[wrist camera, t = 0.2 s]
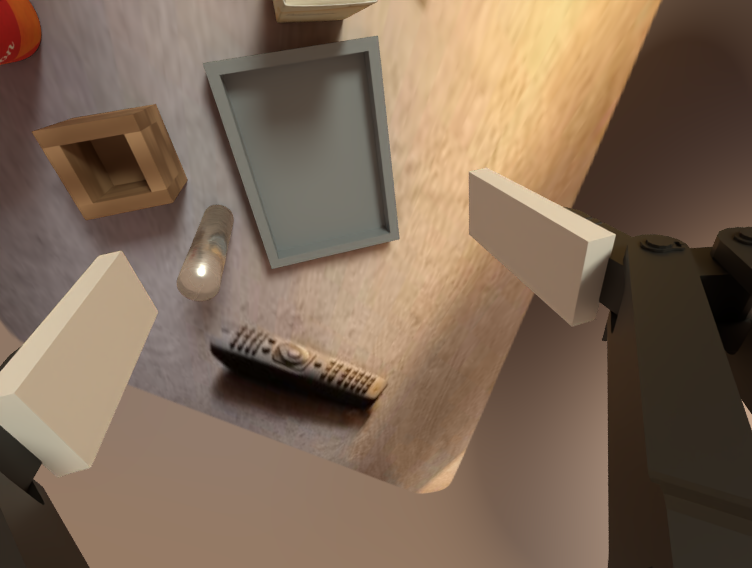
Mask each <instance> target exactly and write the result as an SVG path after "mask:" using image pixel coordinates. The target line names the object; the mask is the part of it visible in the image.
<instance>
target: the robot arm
mask: <svg viewBox="0 0 752 568" xmlns="http://www.w3.org/2000/svg"><path fill="white" fill-rule="evenodd" d="M469 235H471V236H472V237H473V238H474V239H475V240H476V241H477V242H478V243H479V244H481V245H482V246H483V247H484V248H485V249H486V250H487V251H488V252H489V253H491V254H492V255H493V256H494V257H495V258H496V259H497V260H498V261H499V262H501V263H502V264H503V265H504V266H505V267H506V268H507V269H508V270H509V271H511V272H512V273H513V274H514V275H515V276H516V277H517V278H518V279H520V280H521V281H522V282H523V283H524V284H525V285H526V286H527V287H528V288H530V289H531V290H532V291H533V292H534V293H535V294H536V295H537V296H539V297H540V298H541V299H542V300H543V301H544V302H545V303H546V304H547V305H549V306H550V307H551V308H552V309H553V310H554V311H555V312H556V313H557V314H558V315H560V316H561V317H562V318H563V319H564V320H565V321H566V322H567V323H569V324H570V325H571V326H575V325H578V324H582V323H585V322H589V321H592V320H595V319H596V315H597V310H598V307H599V303H602V304H603V305H604V306H606V307H607V308H608V309H610V312H609V316H608V320H607V323H606V327H605V331H604V335H603V338H602V341H607V349H608V351H607V352H608V353H607V356H608V357H607V359H608V494H609V495H608V496H609V497H608V498H609V499H608V500H609V501H608V502H609V503H608V506H609V560H608V568H752V430H751V427H750V424H749V421H748V418H747V415H746V412H745V409H744V406H743V403H742V401H743V402H744V404H745V405H746V407H747V408H748V410H749V411H750V412H751V414H752V227H746V228H743V227H742V228H741V227H736V228H727V229H724V230H722V231H719V233H718V235H717V237H716V240H715V242H714V245H713V247H703V248H689V247H688V245H687V244H686V243H683V242H682V241H680V240H678V239H675V238H672V237H668V236H663V235H640V236H635V237H631V236H629V235H627V234H625V233H623V232H621V231H619V230H617V229H615V228H613V227H611V226H609V225H607V224H605V223H602V222H601V221H599V220H597V219H595V218H592V217H591V216H589V215H587V214H585V213H583V212H581V211H579V210H575V209H571V208H567V207H562V206H560V205H558V204H556V203H554V202H552V201H550V200H548V199H546V198H544V197H542V196H540V195H539V194H537V193H535V192H533V191H531V190H529V189H527V188H525V187H523V186H521V185H519V184H517V183H515V182H513V181H512V180H510V179H508V178H506V177H504V176H502V175H500V174H498V173H496V172H494V171H492V170H490V169H488V168H483V169H479V170H474V171H470V172H469ZM157 314H158V311H157V309H156V307H155V306H154V304H153V302H152V301H151V299H150V297H149V295H148V294H147V292H146V290H145V289H144V287H143V285H142V284H141V282H140V280H139V279H138V277H137V275H136V274H135V272H134V270H133V269H132V267H131V265H130V264H129V262H128V260H127V259H126V257H125V255H124V254H123V252H122V251H118V252H113V253H109V254H104V255H100V256H98V257H97V258H96V260H95V261H94V262H93V263H92V264H91V265H90V267H89V268H88V269H87V270H86V271H85V273H84V274H83V275H82V276H81V277H80V278H79V280H78V281H77V282H76V283H75V284H74V286H73V287H72V288H71V289H70V290H69V291H68V293H67V294H66V295H65V296H64V297H63V298H62V300H61V301H60V302H59V303H58V304H57V306H56V307H55V308H54V309H53V310H52V311H51V313H50V314H49V315H48V316H47V317H46V319H45V320H44V321H43V322H42V323H41V324H40V326H39V327H38V328H37V329H36V330H35V331H34V333H33V334H32V335H31V336H30V337H29V339H28V340H27V341H26V342H25V343H24V344H23V345H22V346H21V347H20V348H18V349H17V350H16V351H14V352H13V353H12V354H11V355H10V356H9V357H8V358H7V359H6V360H5V361H4V362H3V364H2V365H1V366H0V568H89V566H88V564H87V562H86V561H85V559H84V557H83V556H82V554H81V552H80V550H79V549H78V547H77V545H76V544H75V542H74V540H73V538H72V536H71V535H70V533H69V531H68V530H67V528H66V526H65V524H64V523H63V521H62V519H61V518H60V516H59V514H58V512H57V511H56V509H55V507H54V505H53V504H52V502H51V500H50V498H49V497H48V495H47V493H46V492H45V490H44V488H43V487H42V486H41V485H40V484H38V483H37V482H36V481H35V480H34V479H33V478H34V476H35V474H36V473H37V471H38V469H39V467H40V466H41V464H43V465H44V466H45V467H46V468H47V469H48V470H50V471H51V472H52V473H53V474H54V475H55V476H56V477H61V476H64V475H67V474H71V473H74V472H77V471H81V470H85V469H88V468H91V466H92V464H93V461H94V459H95V457H96V455H97V452H98V450H99V448H100V446H101V443H102V441H103V439H104V436H105V434H106V432H107V429H108V427H109V425H110V422H111V420H112V417H113V415H114V413H115V411H116V408H117V406H118V404H119V401H120V399H121V397H122V395H123V392H124V390H125V388H126V385H127V383H128V381H129V378H130V376H131V374H132V371H133V369H134V367H135V365H136V362H137V360H138V358H139V355H140V353H141V351H142V348H143V346H144V344H145V341H146V339H147V337H148V334H149V332H150V330H151V327H152V325H153V323H154V321H155V318H156V316H157ZM741 399H742V400H741Z"/></svg>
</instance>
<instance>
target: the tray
mask: <svg viewBox="0 0 752 568" xmlns="http://www.w3.org/2000/svg"><path fill="white" fill-rule="evenodd" d="M203 66H204V69H205V72H206V75H207V77H208V80H209V83H210V86H211V89H212V92H213V95H214V98H215V101H216V104H217V107H218V110H219V113H220V116H221V119H222V122H223V125H224V128H225V131H226V134H227V137H228V140H229V143H230V146H231V149H232V152H233V155H234V158H235V161H236V164H237V167H238V170H239V173H240V176H241V179H242V182H243V185H244V188H245V191H246V193H247V196H248V199H249V202H250V205H251V208H252V211H253V214H254V217H255V220H256V223H257V226H258V229H259V232H260V235H261V238H262V241H263V244H264V247H265V250H266V253H267V256H268V259H269V262H270V265H271V268H272V269H274V268H278V267H282V266H287V265H291V264H295V263H300V262H304V261H308V260H313V259H317V258H321V257H325V256H330V255H334V254H338V253H343V252H347V251H351V250H355V249H360V248H364V247H368V246H373V245H377V244H381V243H385V242H390V241H394V240H398V239H399V229H398V220H397V210H396V201H395V191H394V182H393V172H392V163H391V154H390V144H389V135H388V125H387V116H386V106H385V97H384V87H383V78H382V69H381V59H380V50H379V40H378V36H373V37H366V38H360V39H354V40H347V41H341V42H335V43H328V44H322V45H315V46H309V47H303V48H296V49H290V50H284V51H277V52H271V53H264V54H258V55H252V56H245V57H239V58H233V59H226V60H220V61H213V62H207V63H203Z"/></svg>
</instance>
